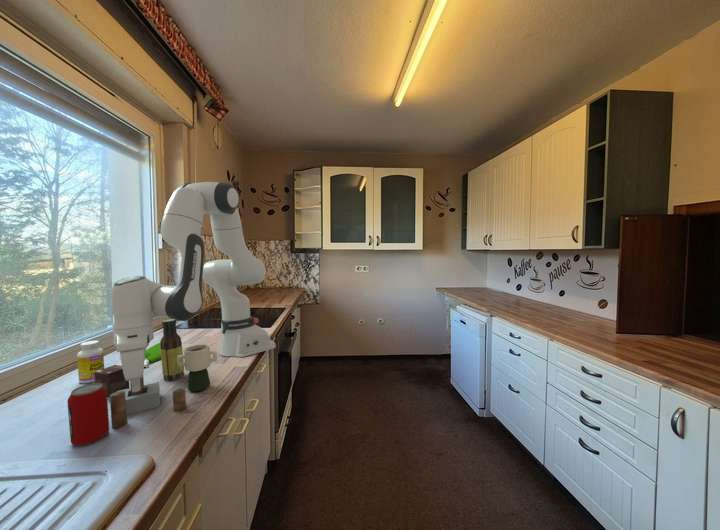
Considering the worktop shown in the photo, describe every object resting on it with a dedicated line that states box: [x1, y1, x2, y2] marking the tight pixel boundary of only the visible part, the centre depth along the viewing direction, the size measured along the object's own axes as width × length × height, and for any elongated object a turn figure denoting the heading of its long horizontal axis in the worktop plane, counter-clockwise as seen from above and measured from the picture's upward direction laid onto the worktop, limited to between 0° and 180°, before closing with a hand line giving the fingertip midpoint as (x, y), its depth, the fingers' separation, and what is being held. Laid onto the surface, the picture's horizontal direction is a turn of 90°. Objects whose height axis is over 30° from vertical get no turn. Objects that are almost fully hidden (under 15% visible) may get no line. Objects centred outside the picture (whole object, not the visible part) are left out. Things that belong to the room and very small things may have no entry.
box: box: [94, 364, 130, 398], centre depth 94 cm, size 6×6×7 cm
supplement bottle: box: [76, 340, 105, 384], centre depth 103 cm, size 7×7×13 cm
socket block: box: [117, 381, 161, 416], centre depth 85 cm, size 10×8×4 cm
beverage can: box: [67, 382, 110, 446], centre depth 70 cm, size 7×7×12 cm
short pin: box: [172, 388, 187, 413], centre depth 83 cm, size 3×3×5 cm
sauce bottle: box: [159, 318, 185, 382], centre depth 103 cm, size 6×6×20 cm
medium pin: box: [109, 391, 128, 430], centre depth 76 cm, size 3×3×8 cm
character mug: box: [177, 343, 218, 392], centre depth 95 cm, size 11×7×13 cm, turn 112°
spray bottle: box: [144, 342, 161, 368], centre depth 124 cm, size 3×11×24 cm
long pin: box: [129, 376, 145, 396], centre depth 85 cm, size 3×3×11 cm
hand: (137, 384), depth 85 cm, fingers open, 8 cm apart
